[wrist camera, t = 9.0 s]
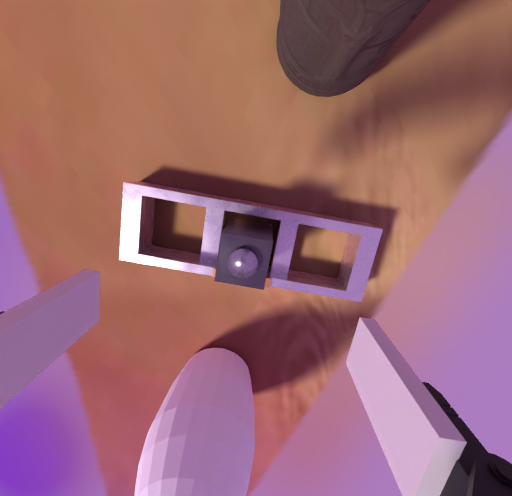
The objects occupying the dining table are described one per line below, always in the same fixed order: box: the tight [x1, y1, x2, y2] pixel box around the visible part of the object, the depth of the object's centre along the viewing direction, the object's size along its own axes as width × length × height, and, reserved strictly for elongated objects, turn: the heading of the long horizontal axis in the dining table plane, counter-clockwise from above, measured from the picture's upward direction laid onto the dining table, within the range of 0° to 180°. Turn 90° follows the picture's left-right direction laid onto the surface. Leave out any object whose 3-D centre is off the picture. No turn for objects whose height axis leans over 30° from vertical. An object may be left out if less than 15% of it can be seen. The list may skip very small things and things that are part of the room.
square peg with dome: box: [214, 216, 273, 290], centre depth 29 cm, size 4×4×11 cm
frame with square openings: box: [119, 181, 383, 302], centre depth 32 cm, size 8×28×4 cm, turn 80°
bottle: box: [134, 348, 255, 496], centre depth 27 cm, size 11×11×25 cm
